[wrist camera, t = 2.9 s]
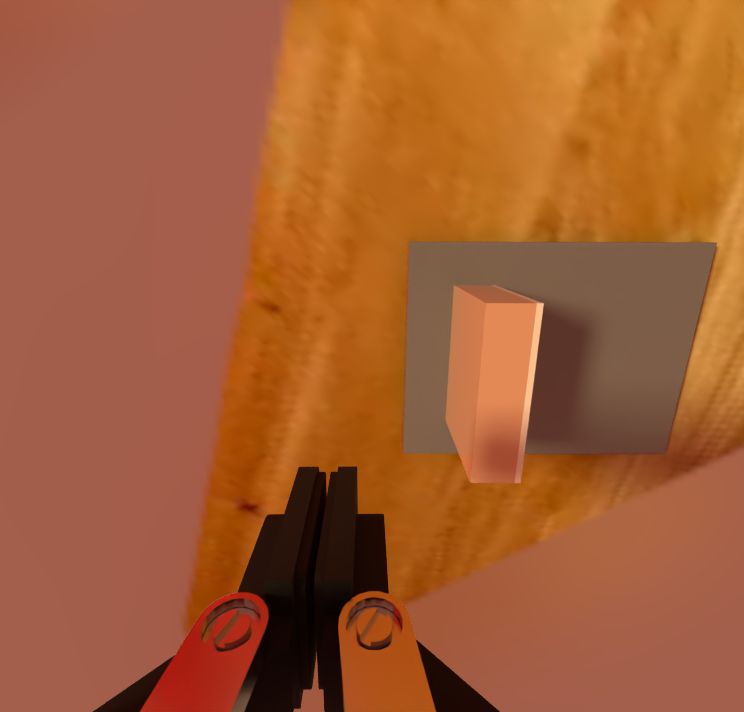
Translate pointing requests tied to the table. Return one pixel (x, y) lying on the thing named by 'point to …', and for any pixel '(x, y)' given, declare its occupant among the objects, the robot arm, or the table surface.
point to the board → (565, 337)
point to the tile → (491, 379)
